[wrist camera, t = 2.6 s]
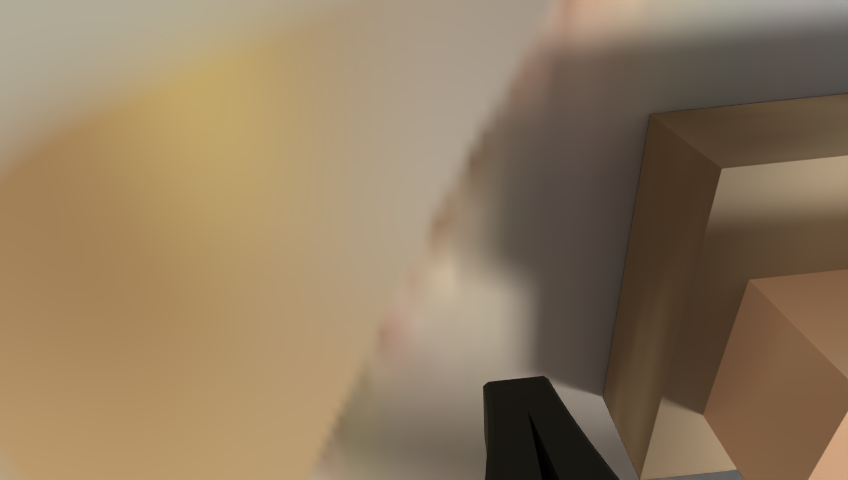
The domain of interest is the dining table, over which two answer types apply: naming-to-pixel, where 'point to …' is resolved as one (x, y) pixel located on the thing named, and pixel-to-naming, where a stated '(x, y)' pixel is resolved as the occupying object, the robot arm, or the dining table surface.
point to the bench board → (716, 258)
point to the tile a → (786, 380)
